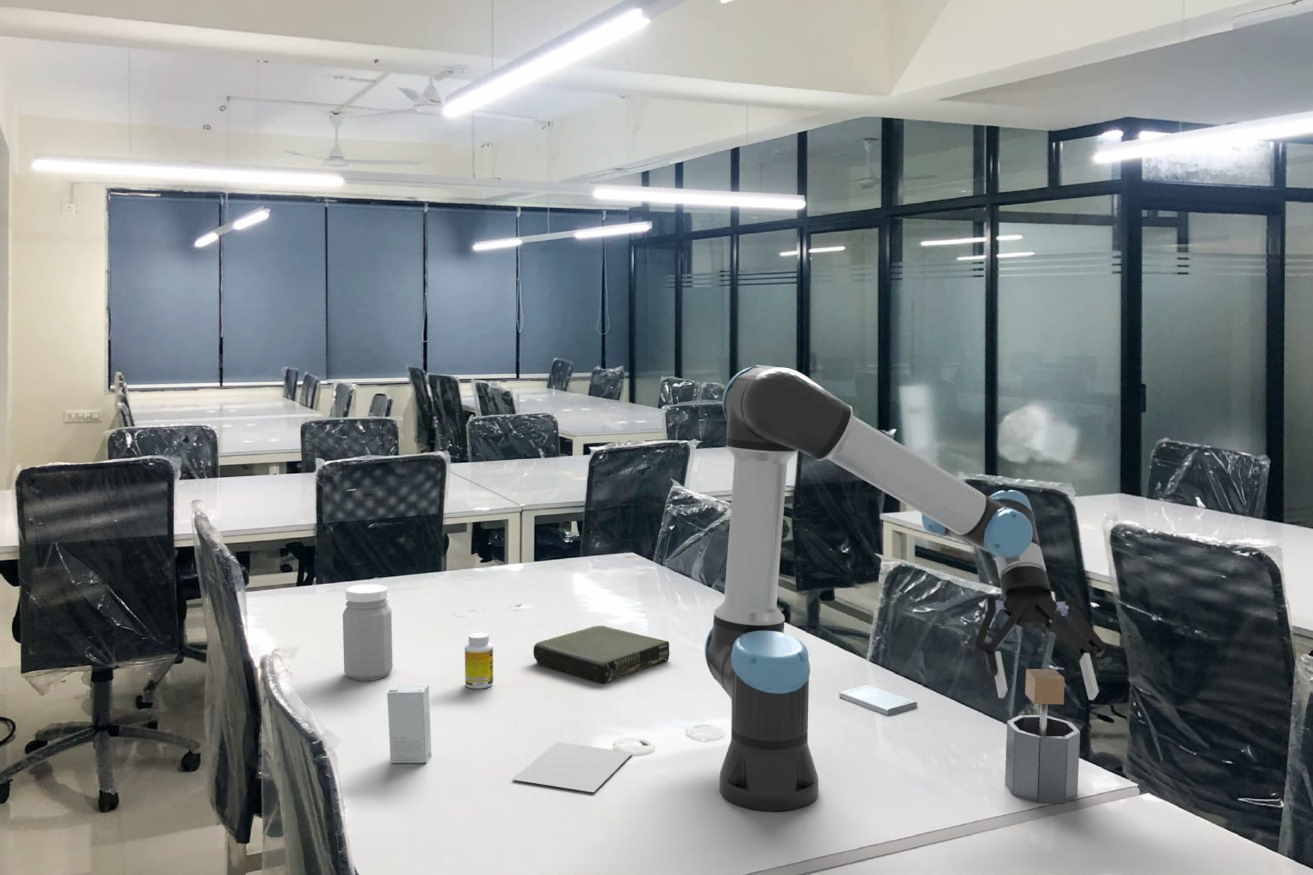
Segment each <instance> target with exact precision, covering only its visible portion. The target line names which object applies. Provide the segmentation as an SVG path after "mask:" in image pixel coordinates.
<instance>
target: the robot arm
mask: <svg viewBox="0 0 1313 875" xmlns="http://www.w3.org/2000/svg"><path fill="white" fill-rule="evenodd" d="M721 404H722V405H721V406H722V410H723V411H722V412H723V415H724V418H725V420H726V422H727V425H726V442H725V444H726V445H725V447H726V449H727V450H728V451H729V453H730V454H731V455H732V456H733V458H734V461H733V473H732V474H733V475H732V486H731V487H732V488H731V489H732V490H731V502H730V503H731V504H730V518H729V531H728V532H729V533H728V543H727V555H726V556H727V557H726V571H725V572H726V574H725V585H724V600H723V602H722V603H721V604H720V605H718V606H717V608H715V609H714V611H713V623H712V628H711V629H710V630H709V632H708V634H707V637H706V640H705V644H704V657H705V661H706V665H707V667H708V670H709V672H710V674H711V676H712V677H713V679H714V680H715V681H716V682H717V683H718V684H719V685H720V687H721V688H722V689H723V690H724V692H726V694H727V695H728V696H729V698H730V700H731V718H730V720H731V722H730V724H731V725H730V727H731V729H730V730H731V731H730V732H731V733H730V734H731V735H730V736H731V737H730V738H731V739H730V743H729V745H728V749H727V752H726V754H725V757H724V760H723V762H722V766H721V767H720V768H721V769H720V771H719V785H718V786H719V788H718V789H719V792H720V794H721V795H722V797H724V798H725V799H726V800H728V801H729V802H730V803H733V804H735V805H738V806H740V807H744V808H747V809H751V810H757V811H766V812H767V811H768V812H779V811H791V810H796V809H800V808H803V807H805V806H808V805H810V804H812V803H813V802H814V801H816V800H817V798H818V796H819V775H818V772H817V770H816V766H815V762H814V759H813V756H812V753H811V749H810V746H809V741H808V740H809V739H808V737H809V736H808V733H809V732H808V731H809V699H810V698H809V696H810V695H809V691H810V690H809V689H810V688H809V687H810V686H809V685H810V673H811V667H810V666H811V663H810V661H809V651H808V648H807V647H806V645H805V644H804V643H803V642H802V640H800V639H799V638H797V637H795V636H793V635H791V634H789V635H786V634H785V633H784V632H785V615H784V614H783V612H782V611H781V610H780V609H779V608H778V605H777V602H778V590H779V577H780V576H779V575H780V563H781V551H782V536H783V525H784V524H783V523H784V513H785V499H786V498H785V496H786V484H787V472H788V462H789V460H790V459H791V458H793V457H794V456H795V455H796V454H798V451H799V452H802V453H803V454H805V455H807V456H809V457H811V458H812V459H814V460H816V461H818V462H819V461H820V462H821V461H824V460H829V461H831V462H833V463H834V464H836V465H838V466H839V467H841V468H843V469H844V470H846V471H848V472H849V473H851V474H854V476H856V477H858V478H860V479H861V480H863V481H865V482H867V483H868V484H870V485H872V486H874V487H876V488H877V489H879V490H881V491H882V492H884V493H886V494H887V495H889V496H891V497H893V498H895V499H896V500H898V501H900V502H901V503H902V504H905V505H906V506H908V507H910V508H911V509H913V510H914V511H917V512H918V513H920V514H921V522H922V525H923V528H924V530H925V531H926V532H928V533H931V534H935V535H938V536H940V537H946V538H952V539H955V540H956V541H957V540H958V541H959V542H960V541H961V542H962V543H965V544H967V545H970V546H973V547H976V548H977V549H978V548H979V549H981V550H983V551H985V552H987V553H990V554H991V555H993V556H994V559H995V564H996V569H997V574H998V577H999V584H1000V590H1001V595H1002V599H1003V600H996V598H995V597H994V596H989V597H988V598H987V600H986V602H985V605H984V618H983V619H982V620H983V621H982V623H981V626H980V628H979V631H978V633H977V635H976V637H975V638H976V639H975V640H974V643H973V645H972V649H971V653H972V654H973V655H981V656H982V659H983V660H984V661H985V664H986V669H987V674H988V675H989V676H990V677H994V680H995V685H996V690H997V695H998V699H1004V698H1005V696H1006V694H1007V693H1008V685H1007V680H1006V674H1005V668H1004V664H1003V660H1002V659H1003V658H1002V653H1001V651H997V650H998V649H999V648H1000V647H1001V645H1002V644H1003V643H1004V641H1005V640H1007V637H1008V636H1010V634H1011V632H1013V631H1014V629H1015V628H1016V627H1020V628H1021V629H1024V630H1026V629H1036V630H1042V629H1043V628H1045V629H1046V630H1047V631H1048V632H1050V633H1053V634H1054V635H1055V636H1057V637H1058V638H1059V639H1060V640H1062V642H1064V644H1066V645H1067V646H1069V647H1070V648H1071V649H1072V650H1073V651H1074V652H1075V653H1077V654H1078V655H1079V656H1080V657H1081V658H1080V660H1079V665H1080V668H1081V669H1080V670H1081V673H1082V677H1083V682H1084V685H1085V690H1086V695H1087V697H1088V700H1090V701H1094V700H1095V699H1096V697H1097V696H1098V694H1099V693H1100V690H1099V687H1098V683H1097V680H1096V679H1097V678H1098V676H1099V675H1100V667H1099V663H1098V660H1097V658H1101V657H1102V656H1103V654H1104V652H1105V651H1106V649H1107V645H1106V644H1105V642H1104V641H1103V640H1102V639H1101V637H1100V636H1099V635H1098V634H1097V633H1096V630H1094V629H1093V628H1092V627H1091V625H1090V624H1089V623H1088V621H1087V620H1086V619H1085V618H1084V617H1083V615H1082V614H1081V612H1079V610H1078V609H1077V607H1076V603H1075V601H1074V600H1073V599H1074V598H1073V599H1072V598H1070V597H1068V598H1066V599H1065V600H1064V601H1055V599H1054V598H1053V595H1052V591H1051V586H1050V581H1049V577H1048V573H1047V568H1046V564H1045V561H1044V555H1043V553H1042V552H1043V551H1042V549H1041V545H1040V539H1039V534H1038V530H1037V524H1036V519H1035V518H1036V517H1035V514H1034V511H1033V509H1032V506H1031V504H1030V501H1029V498H1028V496H1027V495H1025V494H1024V493H1023V492H1021V491H1018V490H1015V489H1014V490H1013V489H1009V490H1008V491H1005V490H999V491H997V492H995V493H994V492H993V493H992V494H991V495H986V494H984V493H983V492H981V491H980V490H978V489H976V488H975V487H973V486H971V485H970V484H968V483H966V482H964V481H963V480H961V479H960V478H958V477H956V476H954V475H953V474H951V473H949V472H948V471H946V470H944V469H943V468H941V467H939V466H938V465H936V464H934V463H933V462H931V461H929V459H926V458H925V457H923V456H921V455H919V454H918V453H917V452H914V451H913V450H911V449H910V448H908V447H906V446H904V445H903V444H901V443H899V442H898V441H896V440H894V439H893V438H891V437H889V435H887V434H884V433H883V432H881V431H880V430H878V429H876V428H874V427H872V426H871V425H870V424H868V423H866V422H864V421H863V420H861V419H859V418H857V417H856V416H854V411H853V408H852V406H851V405H849V404H848V403H846V402H844V401H843V400H841V399H840V398H839V397H837V396H835V395H834V394H832V393H831V392H829V391H828V390H826V388H823V387H822V386H821V385H819V384H818V383H816V382H815V381H814V380H812V379H811V378H810V377H808V376H806V375H805V374H803V373H802V372H799V371H798V370H795V369H792V368H789V367H782V366H780V367H778V366H777V367H776V366H771V365H768V364H763V365H762V364H761V365H758V364H757V365H754V366H751V367H748V368H747V367H746V368H745V369H742V370H741V371H739V372H737V373H736V374H735V375H734V376H733V377H732V378H731V379H730V380H729V381H728V383H727V384H726V386H725V388H724V390H723V394H722V403H721ZM1001 610H1002V611H1003V613H1004V614H1005V615H1006V616H1007V617H1008V619H1007V620H1006V621H1005V623H1004V624H1003V625H1002V626H1001V628H1000V629H999V631H998V632H997V633H996V634H995V635H994V637H993V638H992V639H991V641H990V642H989V643H988V644H985V643H984V642H985V640H986V637H987V634H988V633H989V629H990V627H991V625H992V622H993V619H994V616H995V615H998V614H999V612H1000V611H1001ZM1056 611H1058V612H1059V613H1060V615H1061V616H1060V615H1059V614H1058V613H1056ZM1062 617H1064V618H1065V619H1066V621H1067V622H1068V623H1067V624H1066V623H1065V622H1064V621H1063V618H1062ZM1068 624H1069V625H1070V626H1069V625H1068ZM1071 627H1072V628H1071Z"/></svg>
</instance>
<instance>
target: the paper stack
mask: <svg viewBox="0 0 1313 875" xmlns="http://www.w3.org/2000/svg"><path fill="white" fill-rule="evenodd" d="M631 755H633V752H631V751H624V750H617V749H611V748H602V747H597V746H596V747H594V746H589V745H581V744H575V743H568V742H561V741H557V742H555V743H554V744H552V746H550V747H549V748H548V749H547V750H545V752H543V753H542V754H540V755H539V756H538V757H537V758H536V759H534V761H532V762H531V763H530V764H528V765H527V766H526V767H525V768H523V769H522V770H521V771H520V772H518V774H516V775H515V776H514V777H513V778H512V779H511V780H513V781H518V782H525V783H531V784H538V785H545V786H549V787H550V786H551V787H557V788H563V789H570V790H576V791H581V792H588V793H595V792H596V791H597V790H598V789H599V788H600V787H601V786H602V785H603V783H604V782H606V781H607V780H608V779H609V778H610V777H611V776H612V774H614V772H616V771H617V770H618V768H620V767H621V765H623V764H624V763H625V762H626V760H627V759H628V758H630V756H631Z"/></svg>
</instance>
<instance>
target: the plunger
mask: <svg viewBox="0 0 1313 875" xmlns="http://www.w3.org/2000/svg"><path fill="white" fill-rule="evenodd" d="M1065 679H1066V678H1065V677H1064V676H1063V675H1062V674H1060V673H1059V672H1058V671H1057V670H1056V669H1055V668H1054V669H1049V668H1048V669H1045V668H1043V669H1041V668H1040V669H1037V668H1032V669H1031V668H1026V669H1025V688H1024V692H1025V693H1024V694H1025V695H1026V697H1027V698H1028V699H1029V700H1030V701H1031V702H1032V703H1033V705H1040V709H1039V710H1040V711H1039V715H1040V731H1039V736H1046V730H1047V716H1048V705H1064V704H1065V685H1066V684H1065V683H1066V682H1065Z"/></svg>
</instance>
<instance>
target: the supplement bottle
mask: <svg viewBox="0 0 1313 875" xmlns="http://www.w3.org/2000/svg"><path fill="white" fill-rule="evenodd" d="M464 683H465V686H466V687H467V688H470V689H474V690H479V689H480V690H481V689H487V688H490V687H491V686H492V685H493V684H494V646H493V644H492V643H490V635H489V633H486V632H474V633H470V634H468V643H467V644H466V645H465V646H464Z"/></svg>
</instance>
